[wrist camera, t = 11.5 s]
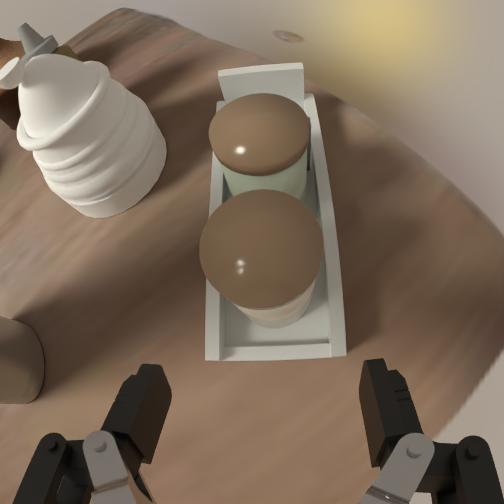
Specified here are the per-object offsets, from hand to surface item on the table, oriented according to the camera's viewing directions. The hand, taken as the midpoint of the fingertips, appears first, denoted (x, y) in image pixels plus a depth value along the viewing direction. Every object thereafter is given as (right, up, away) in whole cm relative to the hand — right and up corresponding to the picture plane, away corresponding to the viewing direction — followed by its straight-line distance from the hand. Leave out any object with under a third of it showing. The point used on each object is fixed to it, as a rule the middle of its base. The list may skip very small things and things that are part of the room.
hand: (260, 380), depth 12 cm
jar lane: (+1, +8, +16) cm, 18 cm away
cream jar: (+1, +2, +12) cm, 13 cm away
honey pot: (-16, +14, +20) cm, 30 cm away
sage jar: (+1, +9, +15) cm, 17 cm away
